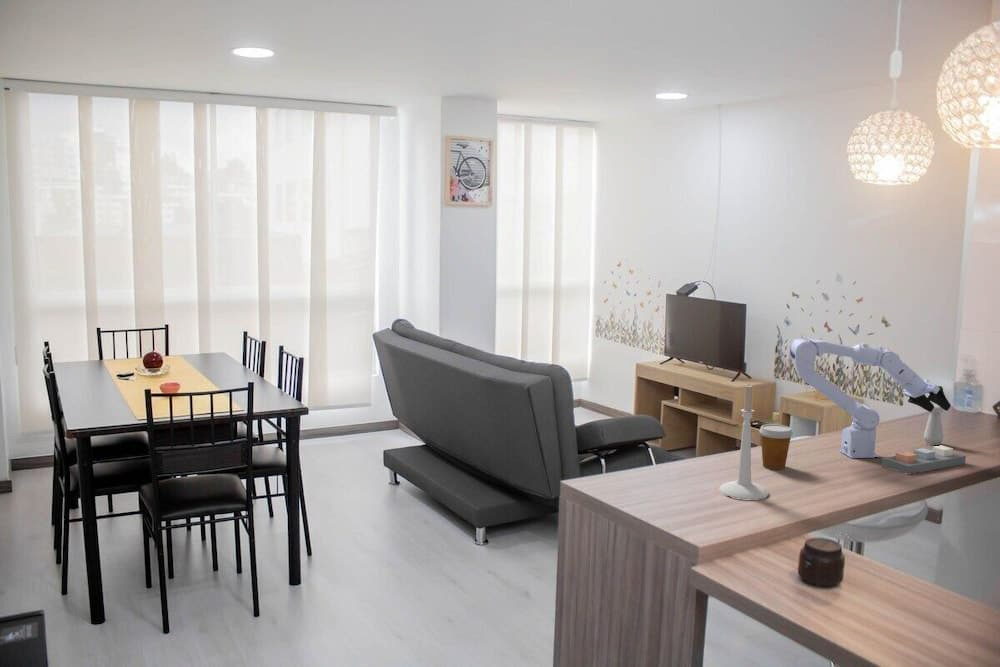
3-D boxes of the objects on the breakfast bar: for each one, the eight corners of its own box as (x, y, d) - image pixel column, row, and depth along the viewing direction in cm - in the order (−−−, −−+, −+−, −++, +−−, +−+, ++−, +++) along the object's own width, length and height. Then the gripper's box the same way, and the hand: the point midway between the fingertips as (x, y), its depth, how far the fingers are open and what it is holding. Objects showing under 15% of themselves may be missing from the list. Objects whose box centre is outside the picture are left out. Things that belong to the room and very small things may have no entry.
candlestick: (778, 495, 223) (784, 386, 219) (744, 503, 217) (749, 391, 213) (743, 482, 234) (748, 377, 230) (709, 489, 228) (713, 382, 224)
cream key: (943, 457, 252) (944, 450, 251) (931, 454, 255) (932, 446, 255) (952, 456, 253) (953, 448, 253) (940, 452, 257) (941, 445, 256)
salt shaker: (946, 446, 271) (949, 407, 270) (928, 446, 272) (931, 407, 270) (937, 441, 277) (940, 403, 275) (919, 441, 277) (922, 403, 276)
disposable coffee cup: (779, 473, 242) (781, 433, 241) (750, 465, 250) (752, 427, 248) (797, 467, 248) (799, 428, 247) (768, 460, 256) (770, 422, 254)
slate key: (925, 460, 248) (926, 453, 248) (913, 457, 252) (914, 449, 251) (934, 459, 250) (935, 451, 250) (922, 455, 253) (923, 448, 253)
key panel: (907, 474, 242) (908, 466, 241) (881, 466, 250) (882, 458, 250) (965, 464, 252) (965, 456, 252) (938, 456, 260) (939, 448, 260)
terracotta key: (906, 464, 245) (907, 456, 245) (895, 460, 248) (895, 452, 248) (916, 462, 247) (916, 454, 246) (904, 458, 250) (905, 451, 250)
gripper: (930, 367, 251) (963, 397, 251) (900, 372, 265) (932, 400, 265) (917, 384, 249) (950, 415, 249) (888, 388, 263) (919, 417, 264)
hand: (940, 408), depth 257 cm, fingers open, 7 cm apart
